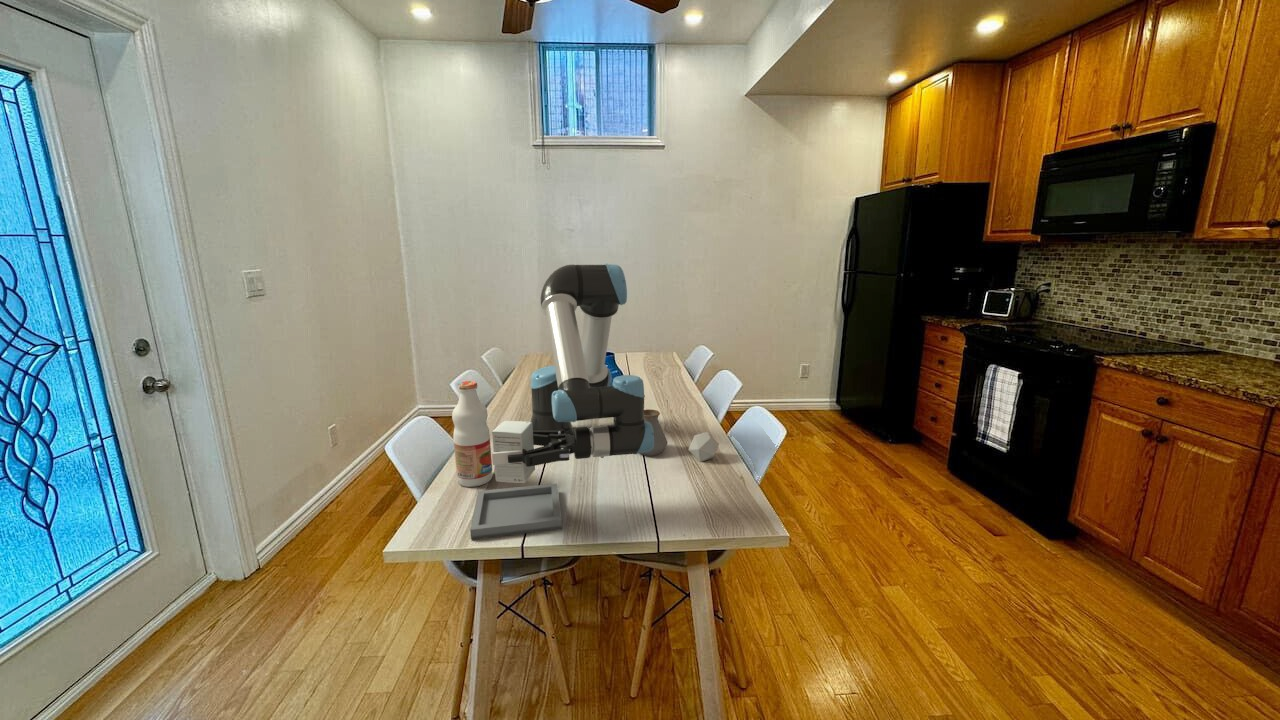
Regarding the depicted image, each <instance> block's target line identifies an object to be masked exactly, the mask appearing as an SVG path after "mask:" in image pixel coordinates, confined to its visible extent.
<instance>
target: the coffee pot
mask: <svg viewBox="0 0 1280 720" xmlns="http://www.w3.org/2000/svg"><path fill="white" fill-rule="evenodd" d="M660 415H661V413H660V411H659V410H656V409H650V408H649V409H644V420H645V422H649V423H651V425H652V427H653V432H654V446H653V449H652V450H651V451H649V452H645V453H639V455H642V456H646V457H651V456H658V455H660V454H662V452H664V451H665V449H666V448H667V446H668V439H667V437H666V435H665V432H664V431H663V428H662V426H661V423H660V421H659V416H660Z"/></svg>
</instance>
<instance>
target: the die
mask: <svg viewBox="0 0 1280 720" xmlns="http://www.w3.org/2000/svg"><path fill="white" fill-rule="evenodd" d="M719 445H720V443H719V442H718V440H716V439H715V437H714V436H712V435H711V434H710V432H708V431H705V432H701V433H697V434H694V435H693V438H692V441H691V443H690V445H689V447H688V451H689V452H690V453H691V454H692V455H693V456H694V457H695V458H696V459H697V460H698V461H699V462H700V463H701V462H704V461H708V460H711V459H714V457H715V454H716V452H717V450H718V447H719Z"/></svg>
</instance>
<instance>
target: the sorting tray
mask: <svg viewBox="0 0 1280 720" xmlns="http://www.w3.org/2000/svg"><path fill="white" fill-rule="evenodd" d="M561 512H562V511H561V503H560V495H559V487H558V483H548V484H538V485H528V486H527V485H526V486H517V487H508V488H507V487H506V488H505V487H504V488H497V489H486V490H478V491H477V494H476V499H475V504H474V509H473V515H472V519H471V524H470V525H471V526H470V529H469V531H470V540H471V539H472V541H473V539H474V540H480V539H481V540H482V539H491V538H498V537H507V536H516V535H525V534H531V533H533V534H534V533H540V532H541V533H542V532H549V531H557V530H562V529H563V525H562V524H563V522H562V521H563V519H562V513H561Z"/></svg>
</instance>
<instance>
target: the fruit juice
mask: <svg viewBox="0 0 1280 720" xmlns="http://www.w3.org/2000/svg"><path fill="white" fill-rule="evenodd" d="M457 389H458V391H459V397H458V398H459V399H458V402H457V404H456V405H455V407H454V408H453V410H452V413H451V418H452V419H451V420H452V422H453V426H454V430H453V433H452V434H453V439H452V440H453V447H454V449H453V450H454V460H455V470H456V480H457V483H458V484H459V485H460V486H462V487H467V488H470V487H471V488H473V487H479V486H484V485H485V484H487V483H489V482H490V481H491V480H492V478H493V459H492V448H491V435H490V428H489V426H488V424H487V421H488V416H489V415H488V408H486V406H485V405H484V403H482V402H481V400H480V398H479V396H478V392H477V390H478V382H477V381H475V380H465V381H461V382H459V383H458V384H457Z"/></svg>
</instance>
